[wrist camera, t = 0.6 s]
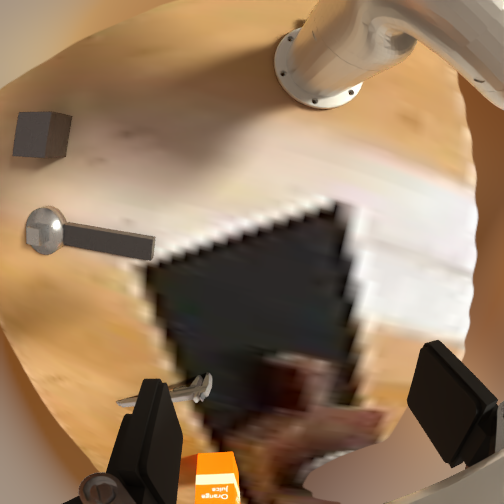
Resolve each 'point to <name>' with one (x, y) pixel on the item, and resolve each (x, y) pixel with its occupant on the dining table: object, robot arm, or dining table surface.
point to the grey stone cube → (42, 134)
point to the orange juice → (217, 479)
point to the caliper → (182, 392)
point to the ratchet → (83, 236)
